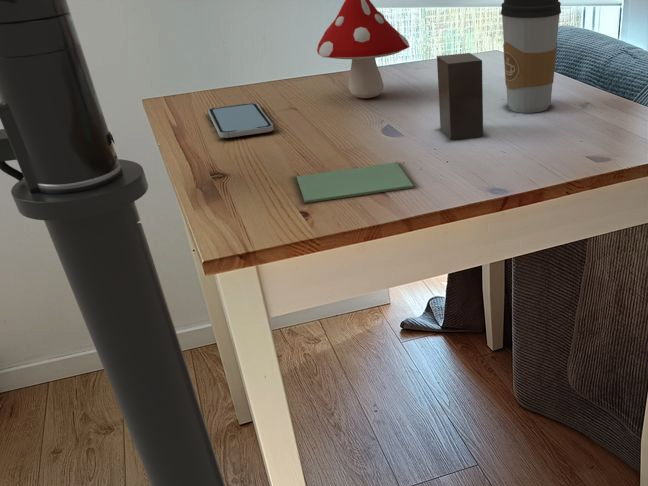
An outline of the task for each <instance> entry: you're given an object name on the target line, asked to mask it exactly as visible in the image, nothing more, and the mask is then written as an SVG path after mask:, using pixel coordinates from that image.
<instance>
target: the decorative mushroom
mask: <svg viewBox="0 0 648 486" xmlns="http://www.w3.org/2000/svg"><path fill="white" fill-rule="evenodd" d="M409 48H410V43H409V41H408V39H407V38H406V37H405V36H404V35H403V34H401V33H400V32H399V31H398V30H397V29H396V28H395V27H394V26H393V25H391V23H390V22H389V21H388V20H387V19H386V17H385V15H384V14H383V13H382V11H379V10H378V9H377V8H376V6H375V5H374V4H373V2H372V1H371V0H344V2H343V4H342V6H341V8H340V9H339V11H338V13H337V15H336V17H335V18H334V20H333V21H332V22H331V23H330V24H329V25H328V26H326V28H325V30H324V32H323V35H322V37H321V38H320V40H319V42H318V44H317V49H316V53H317V54H318V56H320V57H321V58H329V59H334V60H351V65H350V71H349V78H348V90H349V93H350V94H351V95H353V96H354V97H357V98H358V99H372V98H376V97H377V96H379V95H381V94H382V93H383V91H384V87H385V85H384V81H383V78H382V75H381V72H380V69H379V66H378V64H377V61H376V59H378V58H383V57H389V56H394V55H396V54H399V53H401V52H403V51H405V50H407V49H409Z"/></svg>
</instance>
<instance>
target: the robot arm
mask: <svg viewBox="0 0 648 486" xmlns="http://www.w3.org/2000/svg"><path fill="white" fill-rule="evenodd" d="M0 122H1V125H2V128H1V129H0V171H2V172H3V173H5V174H6V175H8V176H10V177H12V178H13V179H15V180H17V181H18V182H19V181H21V180H22V179H23V178H24V179H25V181H26V184H27V186H28V189H29V191H30V193H31V194H33V193H48V194H67V193H75V192H81V191H86V190H90V189H94V188H98V187H101V186H104V185H106V184H108V183H111V182H113V181H114V180H116V179H118V178H119V177H120V176H121V175H122V169H121V165H120V162H119V161H118V159H119V158H118V155H117V153H116V150H115V147H114V145H116V143H115V139H114V137H113V134H112V133H111V132H110V131H109V127H108V124H107V122H106V119H105V116H104V111H103V109H102V105H101V103H100V100H99V97H98V94H97V90H96V88H95V83H94V82H93V79H92V76H91V72H90V69H89V66H88V62H87V60H86V56H85V54H84V51H83V47H82V44H81V41H80V37H79V34H78V32H77V29H76V25H75V21H74V19H73V17H72V13H71V12H70V7H69V4H68V0H0ZM9 161H17V164H18V166H19V169H20V170H18V169H16V168H14V167H12V166H11V165H9V164H8V163H7V162H9Z"/></svg>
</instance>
